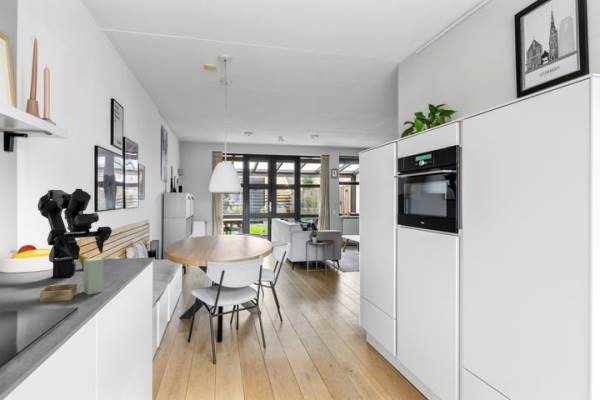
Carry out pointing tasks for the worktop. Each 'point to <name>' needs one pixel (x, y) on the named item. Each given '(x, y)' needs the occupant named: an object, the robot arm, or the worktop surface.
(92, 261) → the post
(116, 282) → the worktop surface
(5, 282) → the worktop surface
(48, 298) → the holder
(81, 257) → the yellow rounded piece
